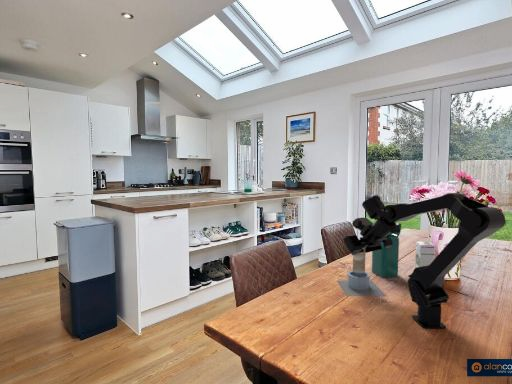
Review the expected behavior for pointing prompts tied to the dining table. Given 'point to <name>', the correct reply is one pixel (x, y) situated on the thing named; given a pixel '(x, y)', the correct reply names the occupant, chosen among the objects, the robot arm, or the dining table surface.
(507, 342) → the dining table surface
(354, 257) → the stopper
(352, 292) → the mat
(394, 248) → the green bottle
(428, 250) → the syrup box
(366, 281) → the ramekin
